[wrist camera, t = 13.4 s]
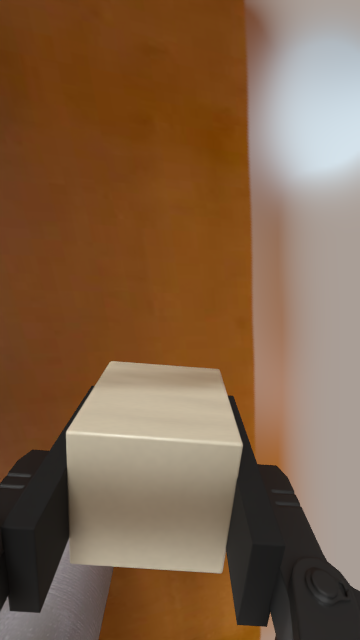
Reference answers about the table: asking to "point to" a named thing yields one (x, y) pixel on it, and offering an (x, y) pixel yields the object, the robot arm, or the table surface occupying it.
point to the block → (153, 469)
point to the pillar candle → (63, 606)
